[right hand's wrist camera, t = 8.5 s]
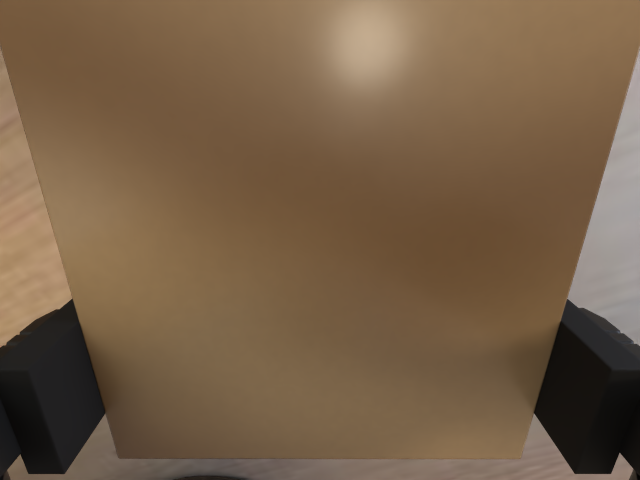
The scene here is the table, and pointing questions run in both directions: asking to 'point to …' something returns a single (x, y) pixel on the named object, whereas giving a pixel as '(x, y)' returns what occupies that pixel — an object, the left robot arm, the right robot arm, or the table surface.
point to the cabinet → (320, 211)
